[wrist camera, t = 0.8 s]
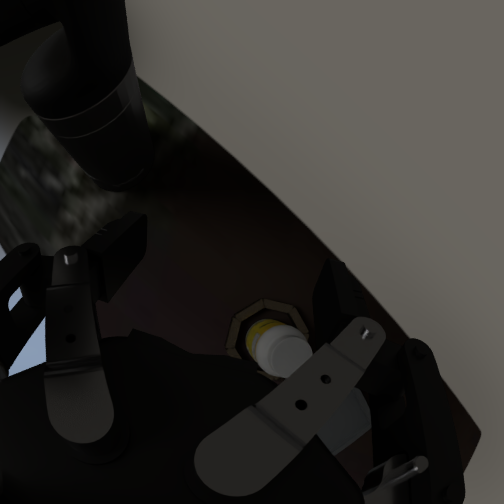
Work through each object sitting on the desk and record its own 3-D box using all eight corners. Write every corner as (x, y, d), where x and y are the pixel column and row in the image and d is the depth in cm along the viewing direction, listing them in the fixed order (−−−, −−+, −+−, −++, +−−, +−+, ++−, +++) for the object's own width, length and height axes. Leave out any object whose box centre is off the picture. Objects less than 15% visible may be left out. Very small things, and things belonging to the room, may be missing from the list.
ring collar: (211, 327, 32) (212, 328, 31) (280, 285, 34) (282, 285, 33) (252, 389, 32) (254, 393, 31) (315, 348, 34) (319, 350, 33)
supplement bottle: (291, 321, 34) (326, 334, 25) (282, 363, 33) (312, 388, 24) (249, 314, 33) (270, 325, 24) (240, 356, 32) (257, 383, 23)
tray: (244, 408, 32) (247, 413, 30) (334, 348, 35) (340, 351, 33) (296, 472, 32) (299, 477, 30) (371, 419, 35) (376, 423, 33)
